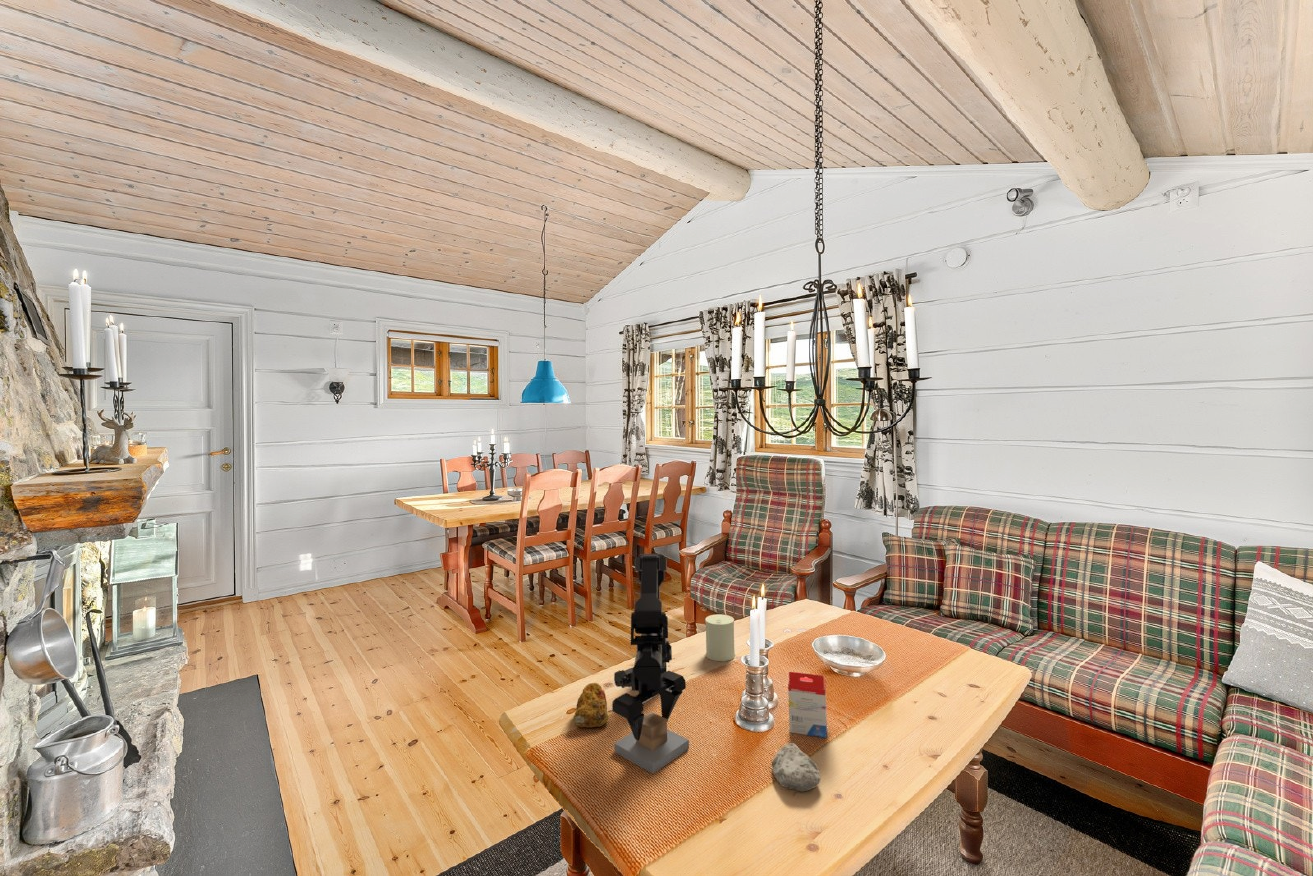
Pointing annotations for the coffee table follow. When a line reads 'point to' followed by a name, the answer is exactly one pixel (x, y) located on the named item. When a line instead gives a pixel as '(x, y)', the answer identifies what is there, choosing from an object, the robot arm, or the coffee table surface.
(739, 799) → the coffee table surface
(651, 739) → the walnut cube
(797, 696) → the ink box
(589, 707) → the rock
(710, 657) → the pale green cylinder
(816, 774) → the decorative stone
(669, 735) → the plate
